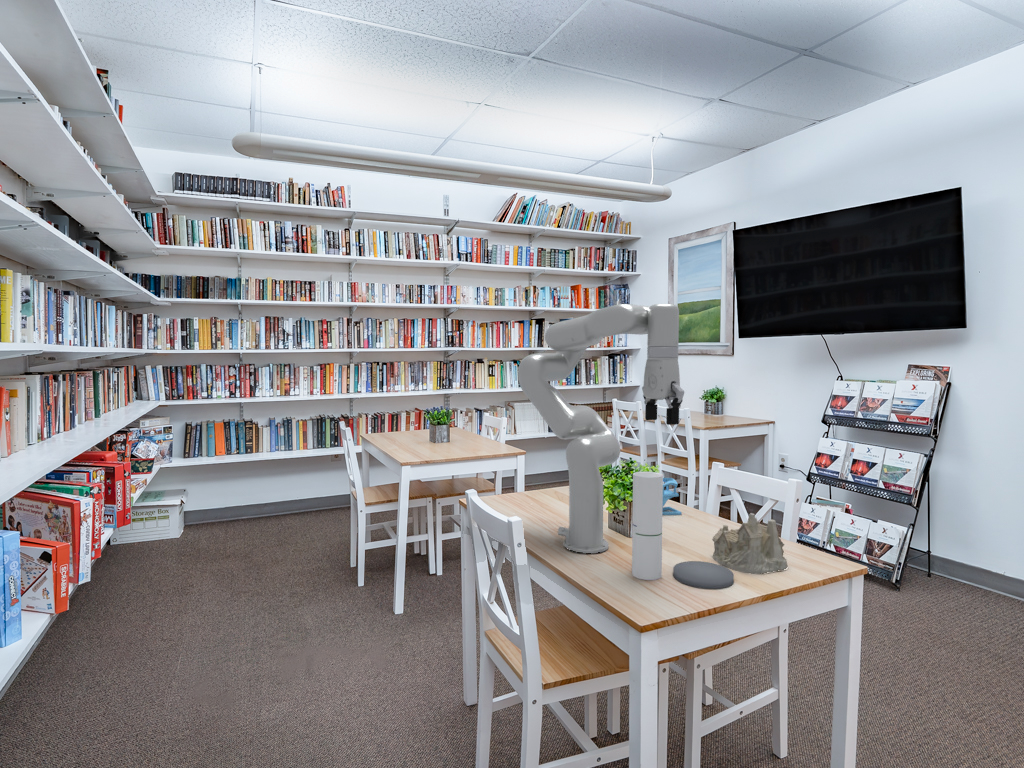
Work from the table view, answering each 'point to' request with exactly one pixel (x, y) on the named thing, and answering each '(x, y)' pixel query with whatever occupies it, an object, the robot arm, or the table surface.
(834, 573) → the table surface
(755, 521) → the ceramic cottage
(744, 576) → the table surface
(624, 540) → the table surface
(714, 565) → the coaster
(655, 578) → the cylindrical container
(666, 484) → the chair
